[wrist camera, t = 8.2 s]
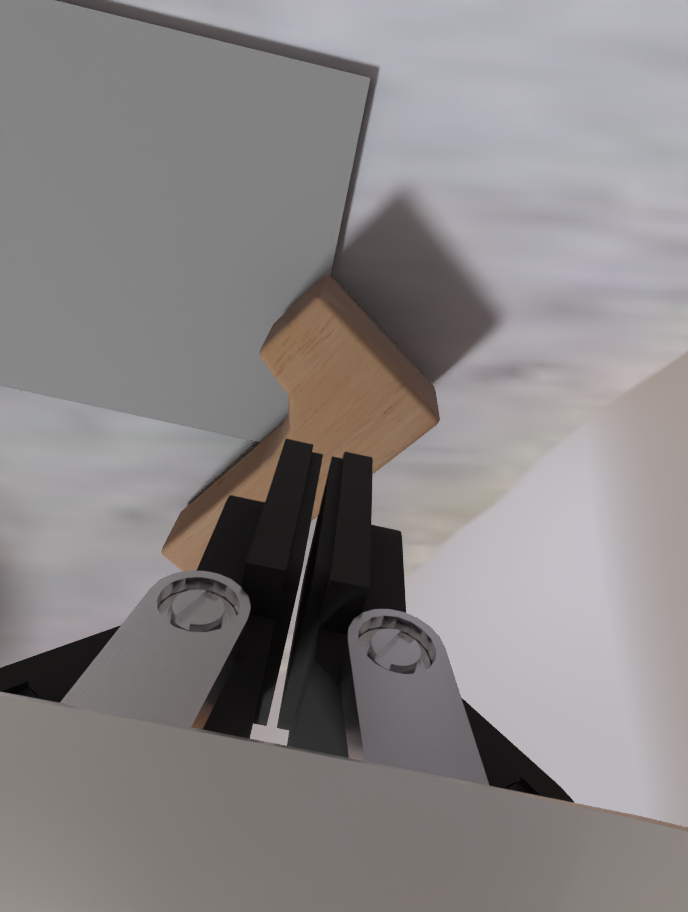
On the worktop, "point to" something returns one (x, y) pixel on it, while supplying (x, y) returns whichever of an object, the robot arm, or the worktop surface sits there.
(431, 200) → the worktop surface
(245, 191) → the mat
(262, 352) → the wooden block
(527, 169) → the worktop surface
